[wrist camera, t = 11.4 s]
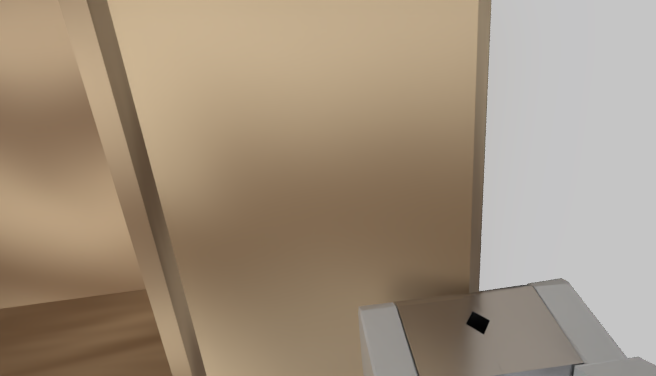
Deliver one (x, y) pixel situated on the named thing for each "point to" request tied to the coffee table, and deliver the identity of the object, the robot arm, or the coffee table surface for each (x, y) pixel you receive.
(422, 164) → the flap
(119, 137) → the wooden flap box
